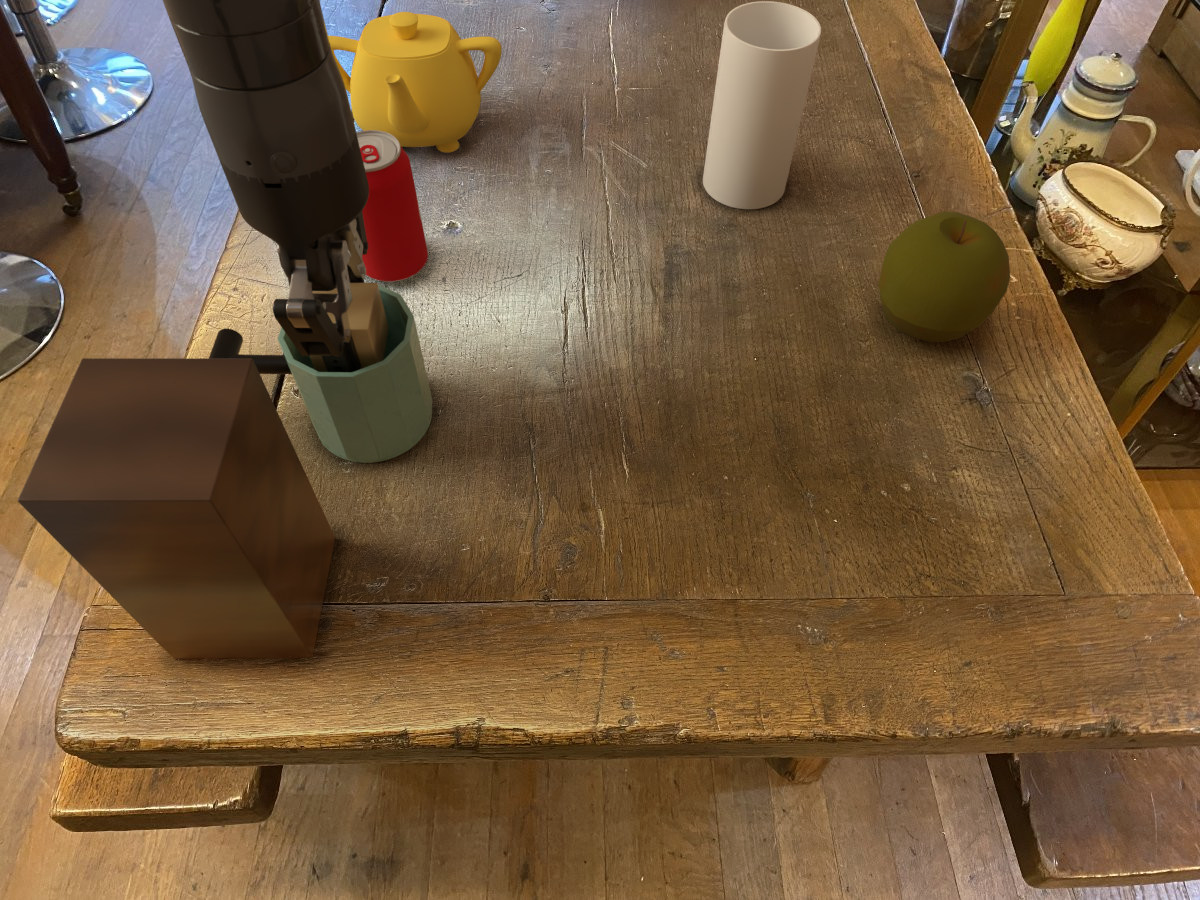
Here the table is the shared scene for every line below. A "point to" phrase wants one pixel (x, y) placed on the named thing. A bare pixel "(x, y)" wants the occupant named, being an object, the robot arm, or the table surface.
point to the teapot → (416, 78)
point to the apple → (943, 277)
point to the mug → (357, 390)
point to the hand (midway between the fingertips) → (351, 345)
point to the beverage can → (390, 210)
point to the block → (363, 325)
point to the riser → (187, 505)
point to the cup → (759, 102)
